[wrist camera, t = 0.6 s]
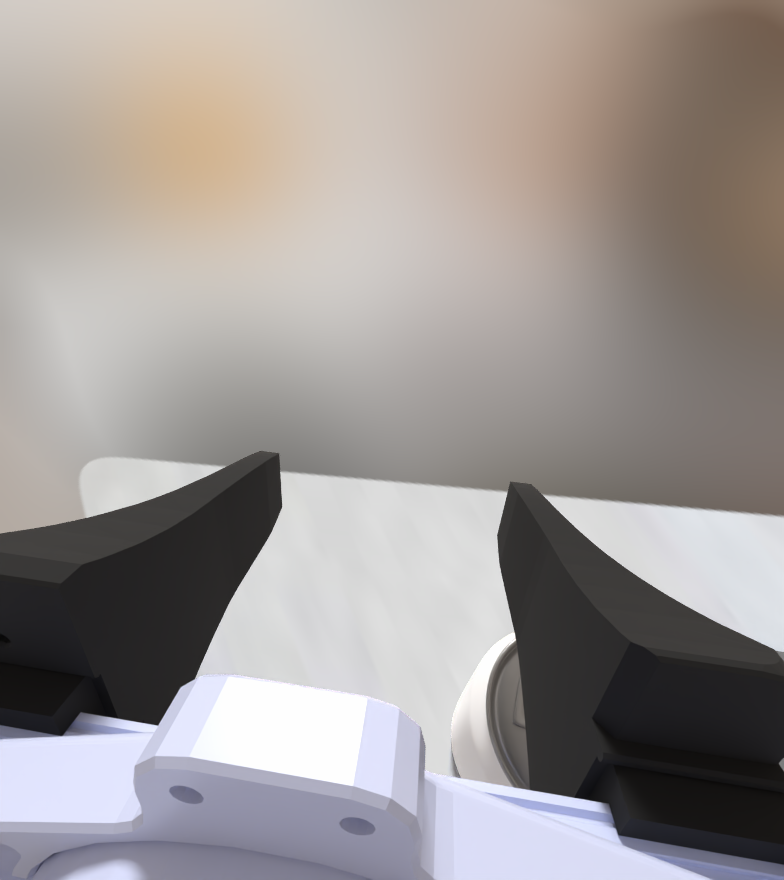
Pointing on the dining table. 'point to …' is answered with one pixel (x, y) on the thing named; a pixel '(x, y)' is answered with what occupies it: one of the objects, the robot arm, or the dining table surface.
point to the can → (492, 721)
